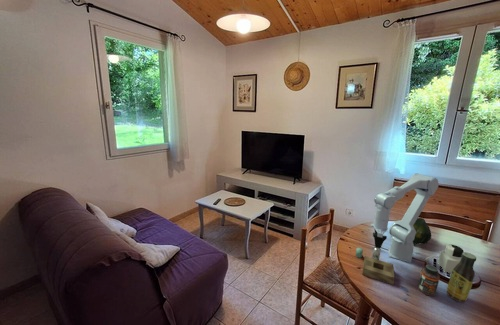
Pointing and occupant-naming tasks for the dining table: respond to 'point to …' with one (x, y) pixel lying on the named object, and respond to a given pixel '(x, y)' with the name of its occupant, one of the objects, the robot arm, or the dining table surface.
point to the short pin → (359, 252)
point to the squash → (421, 231)
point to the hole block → (378, 270)
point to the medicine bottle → (450, 257)
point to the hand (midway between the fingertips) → (377, 243)
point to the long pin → (376, 253)
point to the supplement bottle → (429, 280)
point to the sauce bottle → (462, 278)
